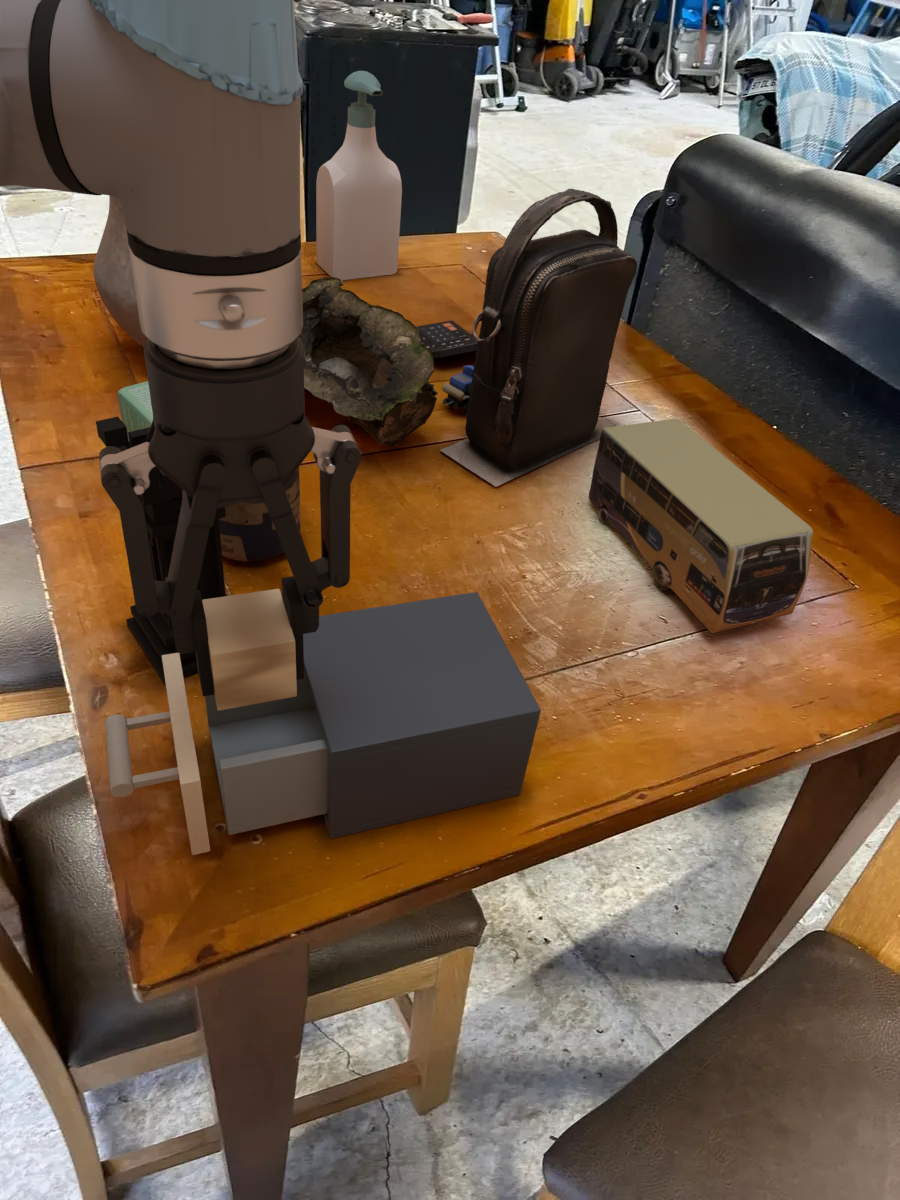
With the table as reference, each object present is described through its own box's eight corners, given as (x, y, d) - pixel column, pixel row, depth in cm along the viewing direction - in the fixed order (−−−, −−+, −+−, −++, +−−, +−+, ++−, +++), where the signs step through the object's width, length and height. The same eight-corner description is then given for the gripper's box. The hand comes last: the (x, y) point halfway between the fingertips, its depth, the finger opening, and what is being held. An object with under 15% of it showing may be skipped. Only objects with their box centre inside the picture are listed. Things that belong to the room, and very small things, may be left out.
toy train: (569, 372, 120) (576, 336, 117) (456, 422, 107) (460, 384, 103) (547, 361, 122) (554, 326, 118) (434, 409, 109) (437, 371, 105)
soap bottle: (337, 285, 134) (341, 80, 116) (316, 265, 139) (316, 65, 121) (402, 278, 139) (415, 79, 121) (379, 258, 144) (388, 65, 126)
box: (186, 429, 100) (179, 368, 95) (249, 487, 93) (245, 425, 88) (124, 447, 96) (113, 385, 91) (185, 510, 89) (177, 446, 84)
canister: (272, 580, 82) (264, 407, 70) (181, 552, 84) (159, 379, 72) (317, 525, 89) (317, 359, 77) (232, 500, 91) (219, 334, 79)
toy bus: (706, 644, 81) (737, 555, 74) (581, 508, 97) (598, 426, 91) (791, 623, 84) (828, 537, 78) (658, 496, 100) (679, 416, 94)
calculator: (451, 325, 127) (453, 305, 125) (497, 361, 120) (500, 340, 118) (395, 336, 123) (396, 315, 121) (439, 373, 116) (441, 351, 114)
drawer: (124, 871, 58) (105, 799, 53) (113, 738, 66) (96, 665, 60) (386, 811, 63) (392, 741, 58) (347, 696, 71) (350, 625, 66)
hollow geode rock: (415, 502, 102) (503, 402, 99) (346, 456, 91) (443, 342, 89) (306, 385, 118) (380, 296, 115) (238, 334, 107) (317, 236, 105)
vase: (83, 332, 115) (44, 119, 98) (219, 307, 124) (204, 109, 108) (146, 400, 104) (114, 173, 87) (290, 366, 113) (286, 156, 97)
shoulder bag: (565, 398, 114) (613, 166, 96) (620, 428, 110) (682, 191, 91) (438, 452, 101) (466, 196, 83) (495, 489, 97) (537, 227, 78)
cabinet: (329, 839, 62) (330, 752, 56) (293, 707, 71) (290, 619, 64) (520, 795, 66) (541, 710, 60) (464, 676, 75) (477, 591, 69)
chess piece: (165, 685, 71) (130, 476, 58) (127, 626, 76) (87, 420, 63) (256, 649, 75) (243, 446, 62) (215, 595, 80) (195, 395, 66)
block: (217, 711, 55) (210, 654, 52) (206, 656, 59) (199, 599, 55) (297, 696, 57) (295, 640, 53) (282, 643, 60) (279, 588, 57)
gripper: (18, 386, 37) (107, 743, 52) (426, 358, 42) (399, 689, 58) (20, 311, 42) (101, 656, 57) (384, 294, 48) (369, 613, 63)
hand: (250, 672), depth 58 cm, fingers closed on block, 5 cm apart
